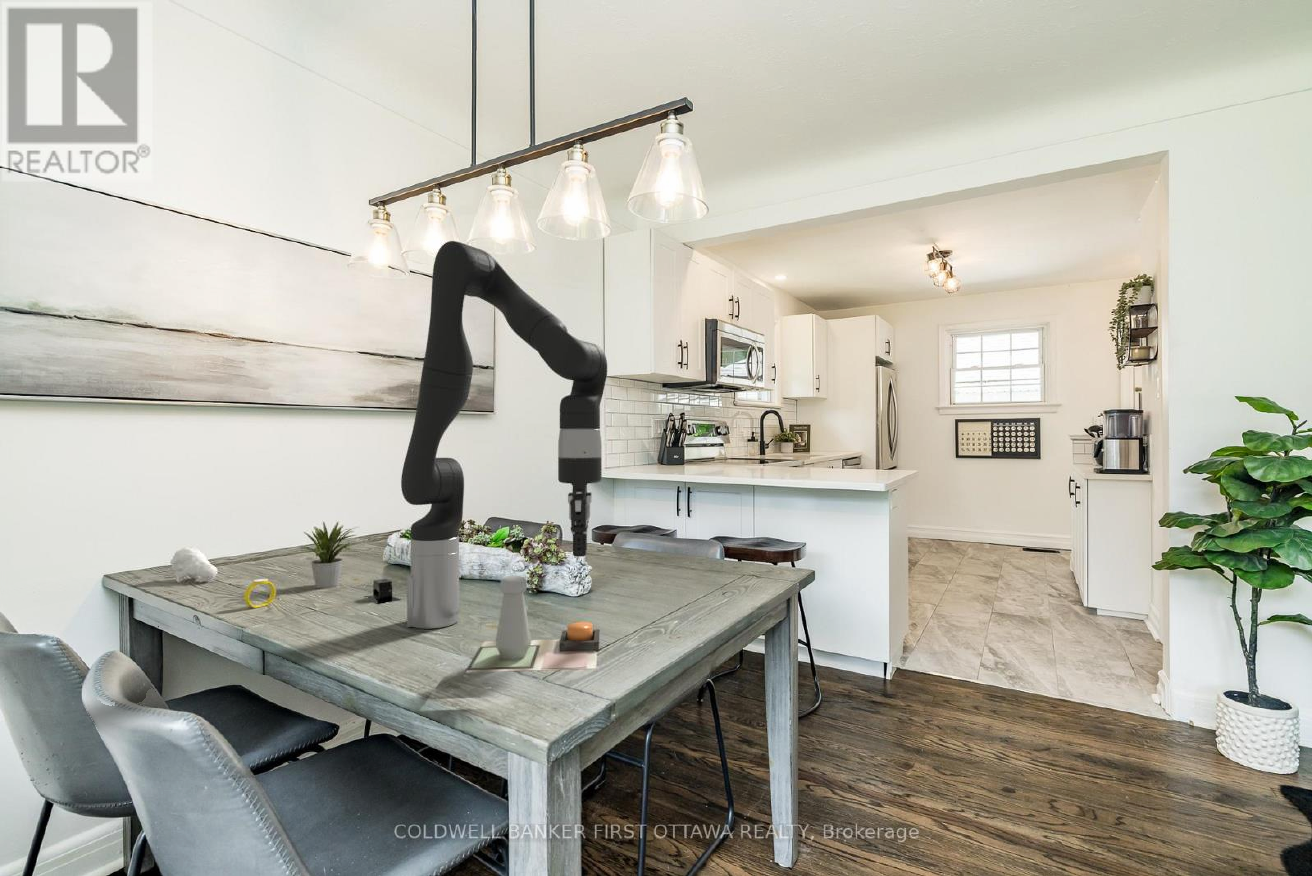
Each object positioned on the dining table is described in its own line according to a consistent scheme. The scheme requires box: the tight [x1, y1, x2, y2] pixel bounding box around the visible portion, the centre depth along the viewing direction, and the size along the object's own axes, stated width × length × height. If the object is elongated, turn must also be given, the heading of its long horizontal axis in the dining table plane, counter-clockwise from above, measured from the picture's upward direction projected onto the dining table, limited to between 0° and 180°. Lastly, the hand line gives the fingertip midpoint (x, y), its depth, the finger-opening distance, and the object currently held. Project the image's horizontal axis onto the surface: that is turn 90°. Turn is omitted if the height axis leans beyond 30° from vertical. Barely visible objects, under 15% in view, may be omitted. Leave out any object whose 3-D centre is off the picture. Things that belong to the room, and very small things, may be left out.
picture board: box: [465, 629, 600, 674], centre depth 100 cm, size 22×16×3 cm
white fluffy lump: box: [170, 546, 218, 584], centre depth 156 cm, size 6×8×12 cm
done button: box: [566, 621, 594, 641], centre depth 105 cm, size 4×4×2 cm
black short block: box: [363, 578, 402, 605], centre depth 140 cm, size 12×7×5 cm, turn 43°
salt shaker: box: [494, 575, 532, 660], centre depth 99 cm, size 6×6×13 cm
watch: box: [243, 578, 277, 609], centre depth 133 cm, size 6×3×6 cm, turn 153°
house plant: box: [298, 521, 362, 589], centre depth 150 cm, size 14×14×16 cm
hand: (580, 553), depth 105 cm, fingers open, 3 cm apart
